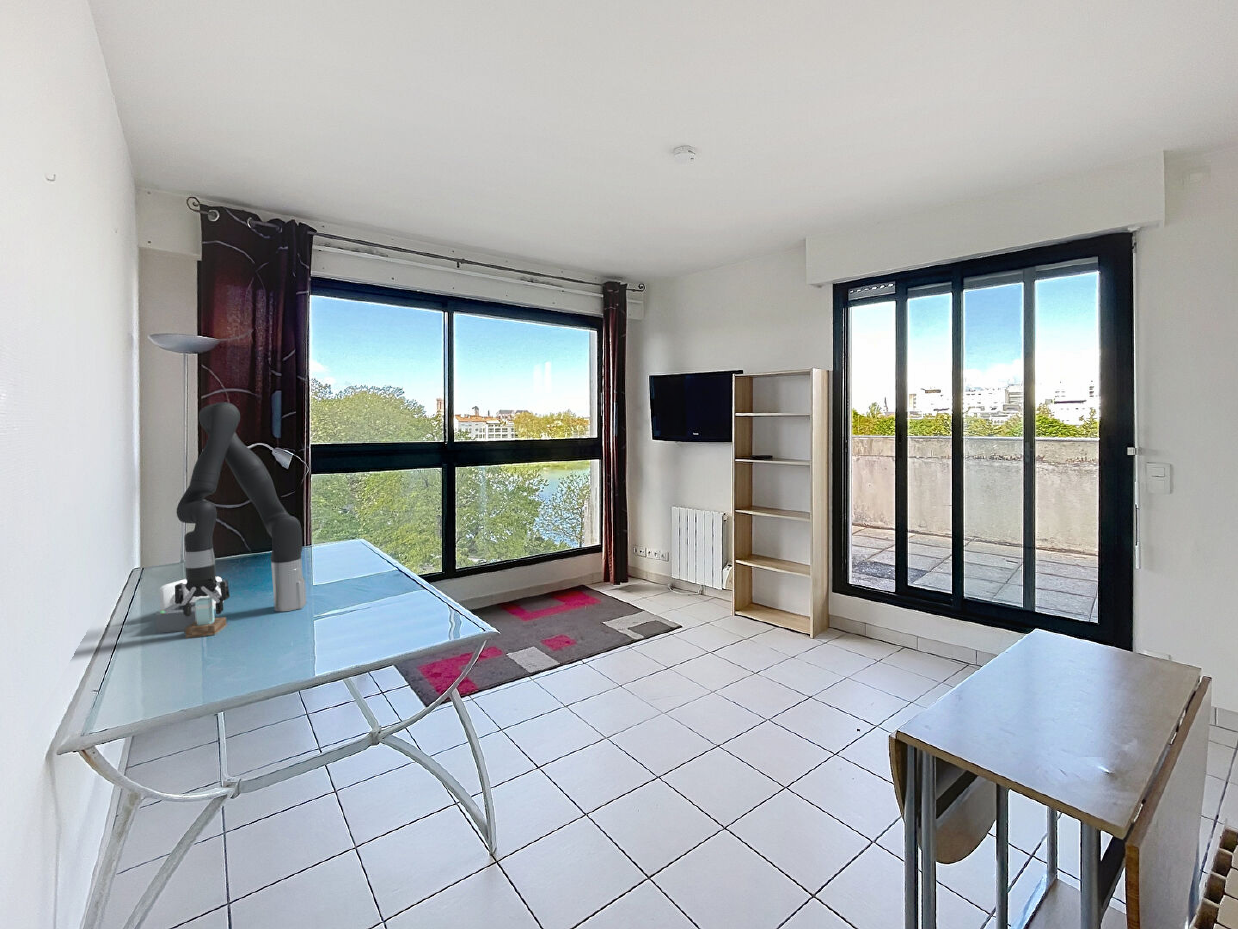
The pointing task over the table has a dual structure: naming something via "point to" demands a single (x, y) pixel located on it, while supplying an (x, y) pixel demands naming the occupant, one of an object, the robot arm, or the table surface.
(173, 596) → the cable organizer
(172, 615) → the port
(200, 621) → the pale turquoise box
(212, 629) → the brown wooden square block
